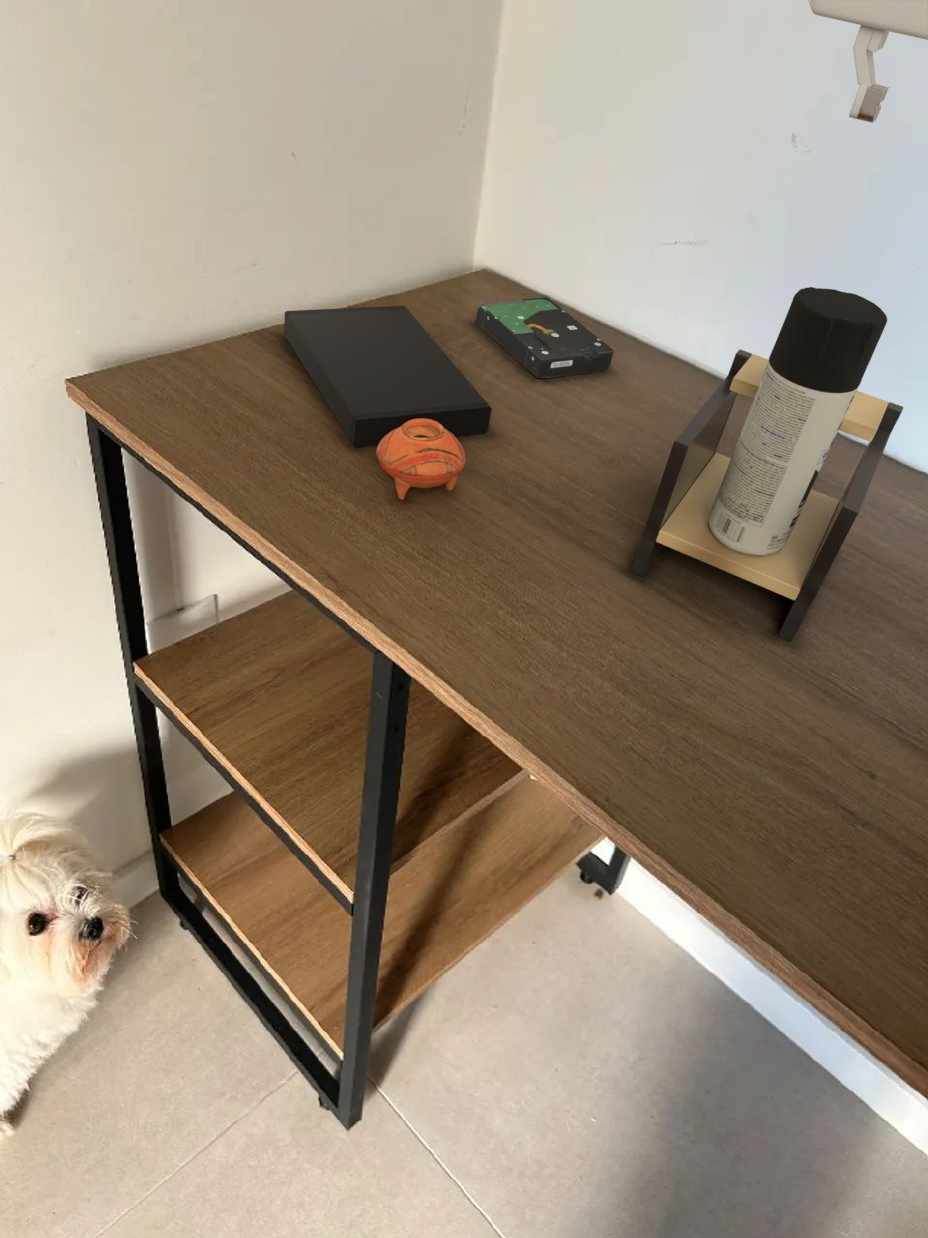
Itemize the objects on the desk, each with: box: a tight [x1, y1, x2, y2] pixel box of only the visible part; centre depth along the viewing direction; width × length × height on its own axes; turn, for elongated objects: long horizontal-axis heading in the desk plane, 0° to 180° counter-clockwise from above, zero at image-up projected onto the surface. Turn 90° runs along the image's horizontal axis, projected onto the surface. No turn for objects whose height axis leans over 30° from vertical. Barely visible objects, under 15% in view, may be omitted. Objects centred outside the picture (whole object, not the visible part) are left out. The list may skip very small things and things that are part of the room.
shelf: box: [630, 349, 904, 643], centre depth 79 cm, size 14×16×15 cm
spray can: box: [709, 286, 888, 556], centre depth 71 cm, size 7×7×20 cm
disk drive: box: [475, 296, 615, 379], centre depth 110 cm, size 10×3×15 cm
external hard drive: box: [283, 305, 492, 448], centre depth 97 cm, size 14×23×3 cm, turn 25°
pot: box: [375, 418, 467, 501], centre depth 83 cm, size 8×8×7 cm
